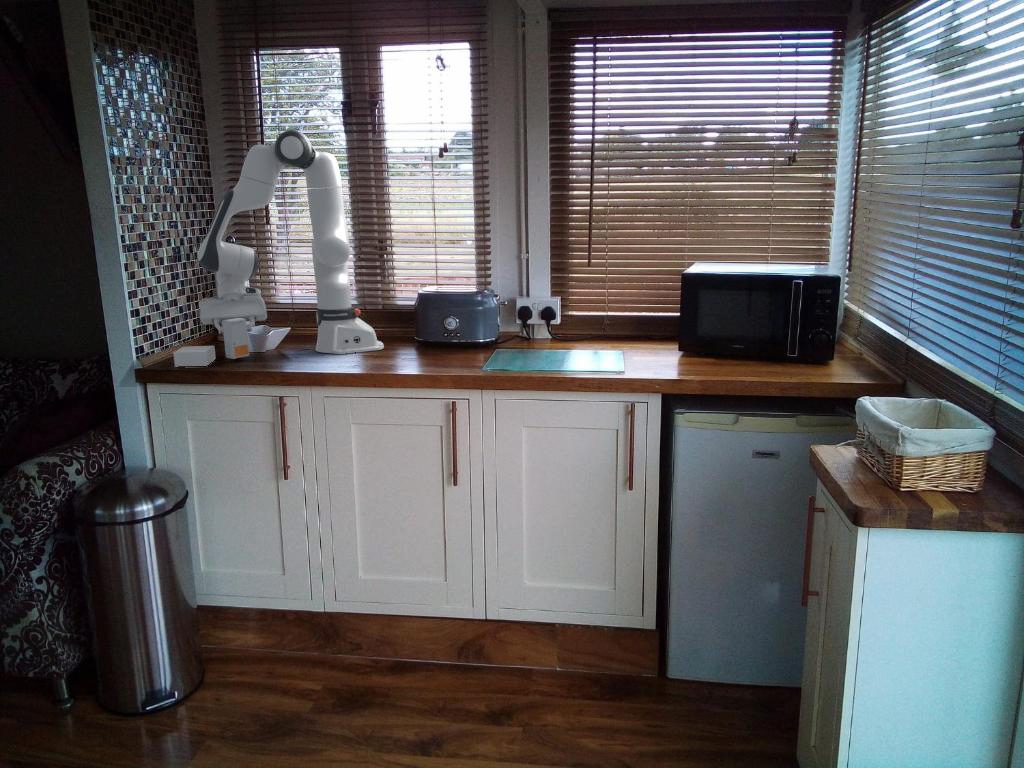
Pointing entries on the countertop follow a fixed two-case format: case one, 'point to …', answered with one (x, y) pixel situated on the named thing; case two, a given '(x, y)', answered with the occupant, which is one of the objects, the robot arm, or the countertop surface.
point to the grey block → (194, 356)
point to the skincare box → (235, 338)
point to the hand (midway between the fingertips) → (235, 331)
